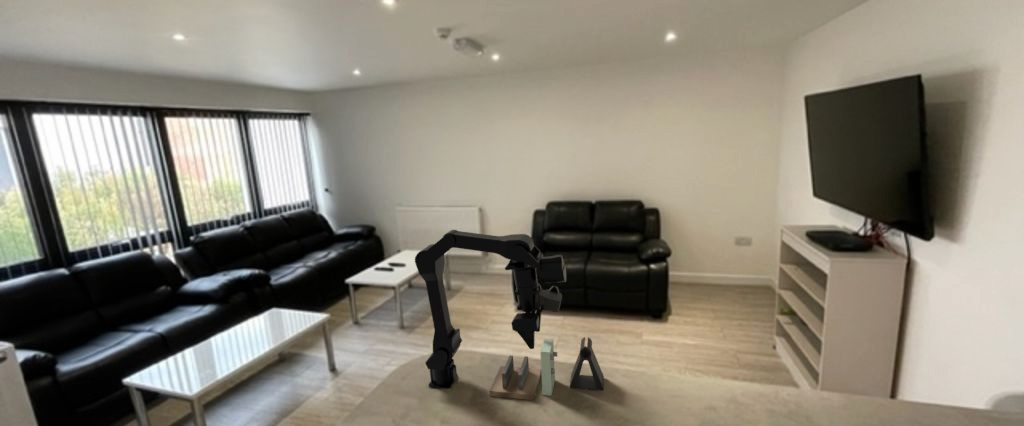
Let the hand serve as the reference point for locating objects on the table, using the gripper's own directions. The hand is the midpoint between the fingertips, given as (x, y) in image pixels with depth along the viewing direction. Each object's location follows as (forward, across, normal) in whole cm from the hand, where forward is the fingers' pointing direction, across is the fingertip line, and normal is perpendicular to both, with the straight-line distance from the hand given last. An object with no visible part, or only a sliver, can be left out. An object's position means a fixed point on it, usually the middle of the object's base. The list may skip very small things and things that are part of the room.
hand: (535, 339), depth 112 cm
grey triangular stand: (+16, +5, -12) cm, 20 cm away
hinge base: (+14, +1, +7) cm, 16 cm away
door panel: (+15, +1, -2) cm, 15 cm away
